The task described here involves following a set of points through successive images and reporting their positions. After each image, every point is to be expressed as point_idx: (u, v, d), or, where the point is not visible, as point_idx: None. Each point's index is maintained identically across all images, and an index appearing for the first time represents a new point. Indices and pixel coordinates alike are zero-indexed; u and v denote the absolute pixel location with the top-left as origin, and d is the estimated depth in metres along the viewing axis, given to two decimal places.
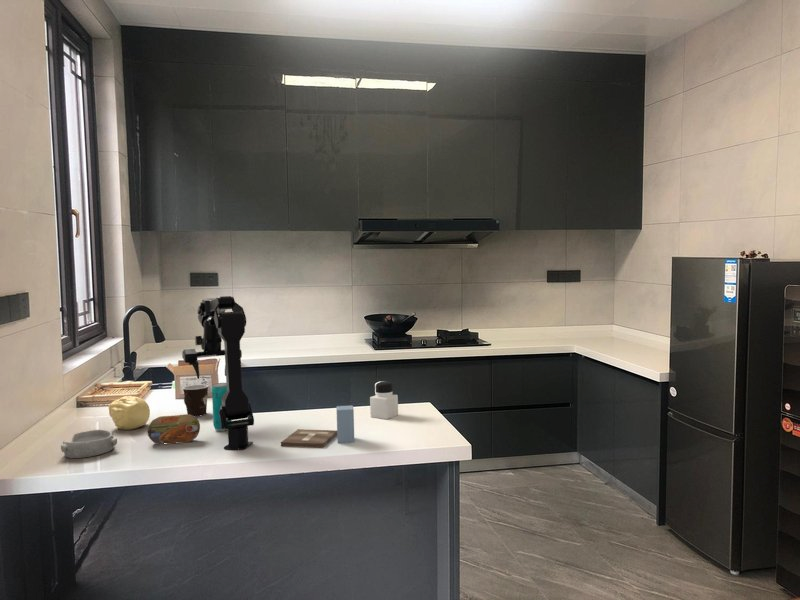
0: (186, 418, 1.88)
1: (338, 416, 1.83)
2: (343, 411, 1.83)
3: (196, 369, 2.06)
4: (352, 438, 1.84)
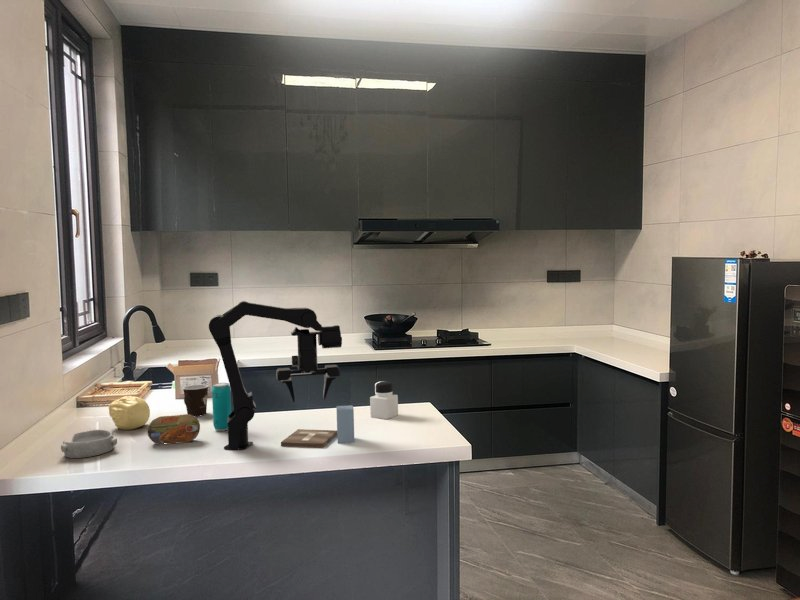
0: (186, 418, 1.88)
1: (338, 416, 1.83)
2: (343, 411, 1.83)
3: (290, 389, 1.84)
4: (352, 438, 1.84)
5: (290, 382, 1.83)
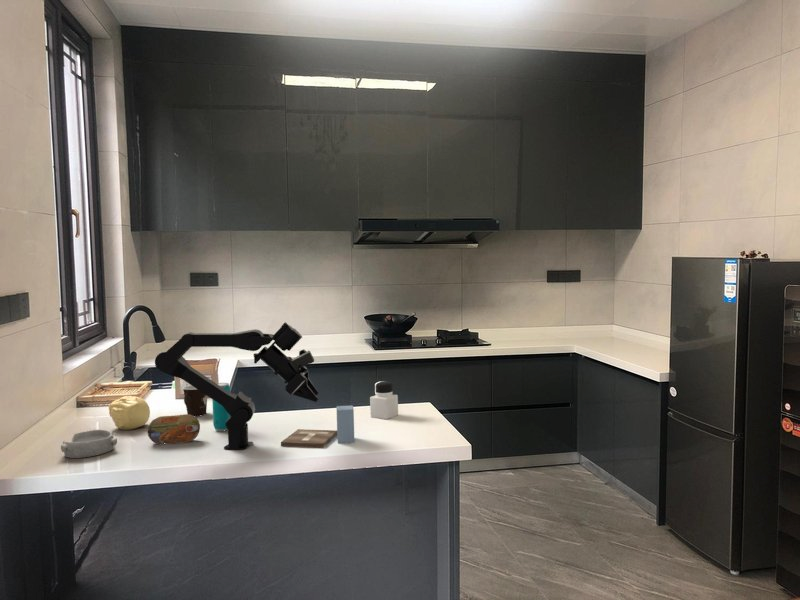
0: (186, 418, 1.88)
1: (338, 416, 1.83)
2: (343, 411, 1.83)
3: None
4: (352, 438, 1.84)
5: None
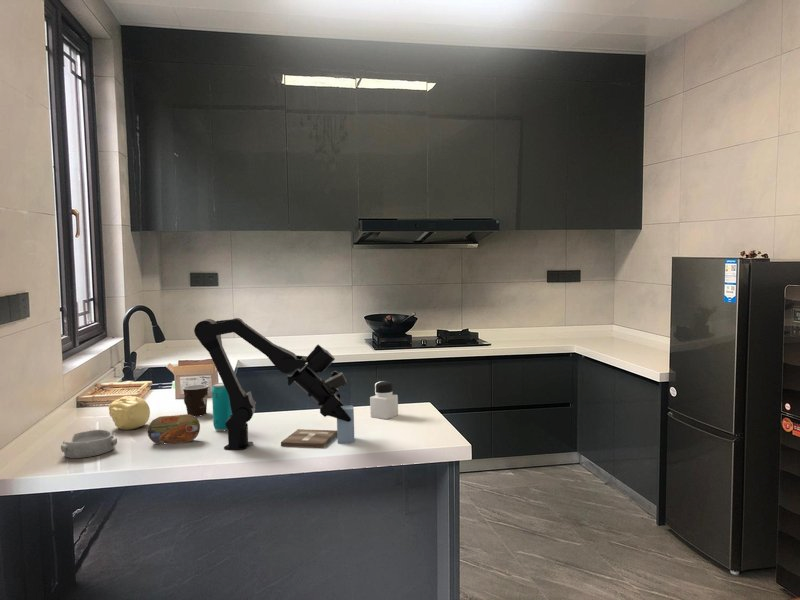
0: (186, 418, 1.88)
1: None
2: None
3: None
4: (352, 438, 1.84)
5: None
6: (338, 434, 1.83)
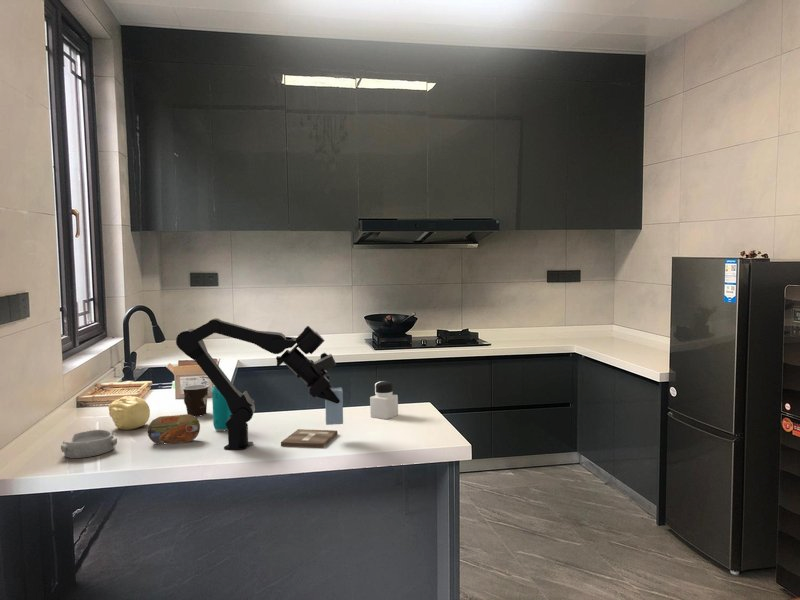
0: (186, 418, 1.88)
1: None
2: None
3: None
4: (341, 420, 1.84)
5: None
6: (327, 416, 1.83)
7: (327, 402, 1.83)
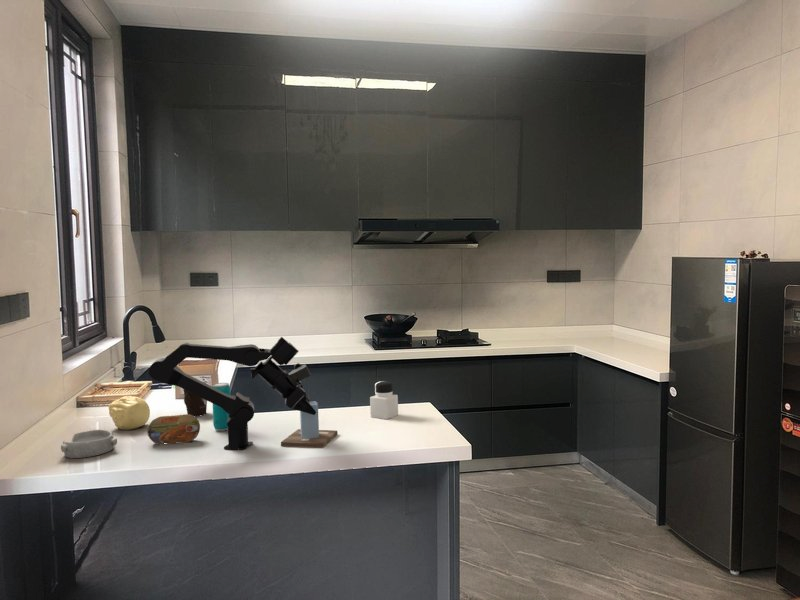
0: (186, 418, 1.88)
1: (303, 412, 1.84)
2: None
3: None
4: (317, 433, 1.85)
5: None
6: (303, 430, 1.84)
7: (303, 416, 1.84)
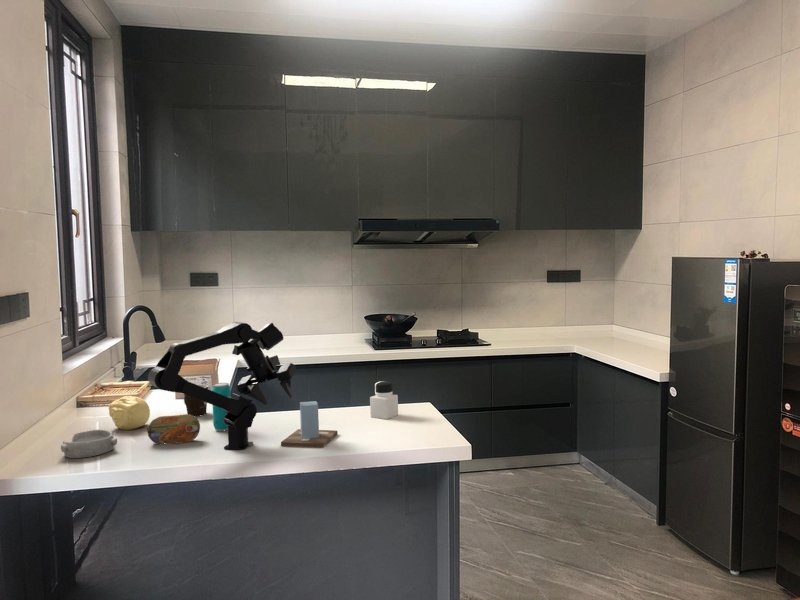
0: (186, 418, 1.88)
1: (303, 412, 1.84)
2: (307, 407, 1.84)
3: (255, 397, 1.88)
4: (317, 433, 1.85)
5: (250, 393, 1.87)
6: (303, 430, 1.84)
7: (303, 416, 1.84)
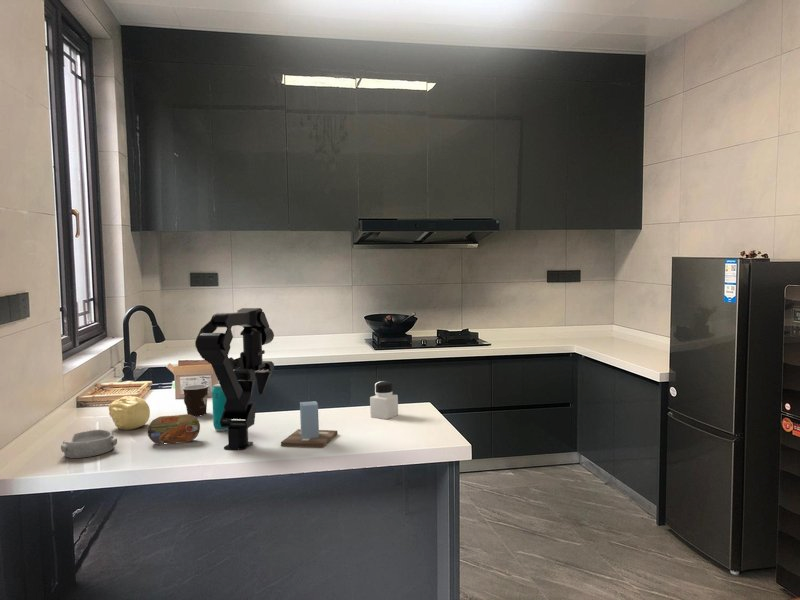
0: (186, 418, 1.88)
1: (303, 412, 1.84)
2: (307, 407, 1.84)
3: (252, 387, 1.87)
4: (317, 433, 1.85)
5: (254, 380, 1.87)
6: (303, 430, 1.84)
7: (303, 416, 1.84)
